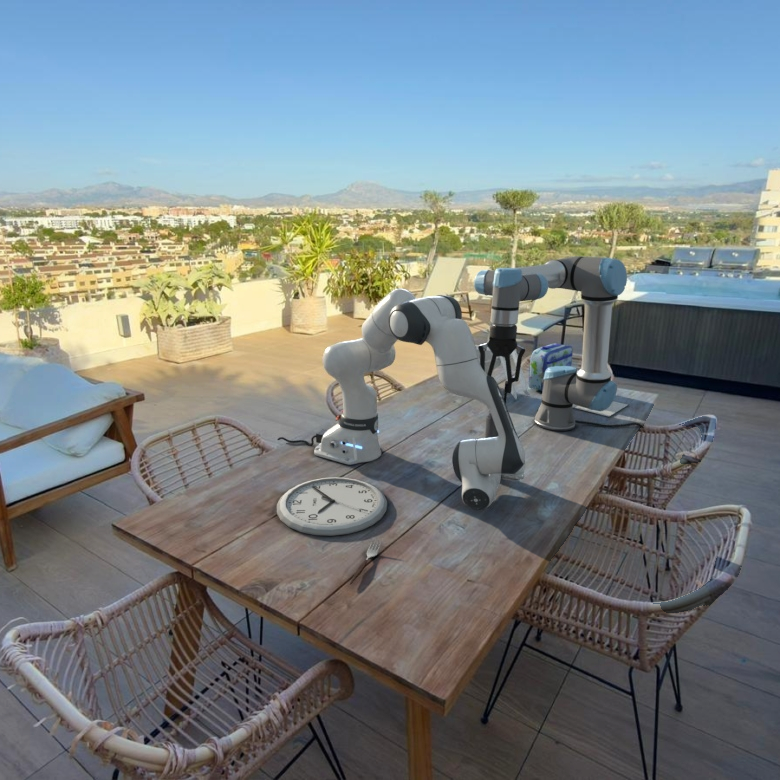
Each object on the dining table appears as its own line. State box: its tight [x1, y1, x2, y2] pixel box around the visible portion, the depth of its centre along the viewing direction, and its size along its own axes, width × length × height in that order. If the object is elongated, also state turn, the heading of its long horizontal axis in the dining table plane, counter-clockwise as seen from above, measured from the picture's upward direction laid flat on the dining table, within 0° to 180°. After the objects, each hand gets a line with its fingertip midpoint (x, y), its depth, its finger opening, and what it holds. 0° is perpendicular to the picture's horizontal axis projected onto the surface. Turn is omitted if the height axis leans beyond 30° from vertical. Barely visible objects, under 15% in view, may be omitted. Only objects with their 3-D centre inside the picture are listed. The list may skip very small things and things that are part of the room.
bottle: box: [484, 410, 499, 438], centre depth 158 cm, size 6×6×25 cm
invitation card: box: [573, 400, 629, 418], centre depth 226 cm, size 21×1×15 cm
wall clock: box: [276, 476, 388, 537], centre depth 142 cm, size 30×2×30 cm
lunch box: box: [528, 343, 574, 392], centre depth 249 cm, size 26×11×21 cm, turn 134°
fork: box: [349, 538, 383, 585], centre depth 117 cm, size 3×16×2 cm, turn 160°
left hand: (493, 455), depth 161 cm, fingers closed on bottle, 5 cm apart
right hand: (497, 402), depth 155 cm, fingers closed on cap, 4 cm apart
